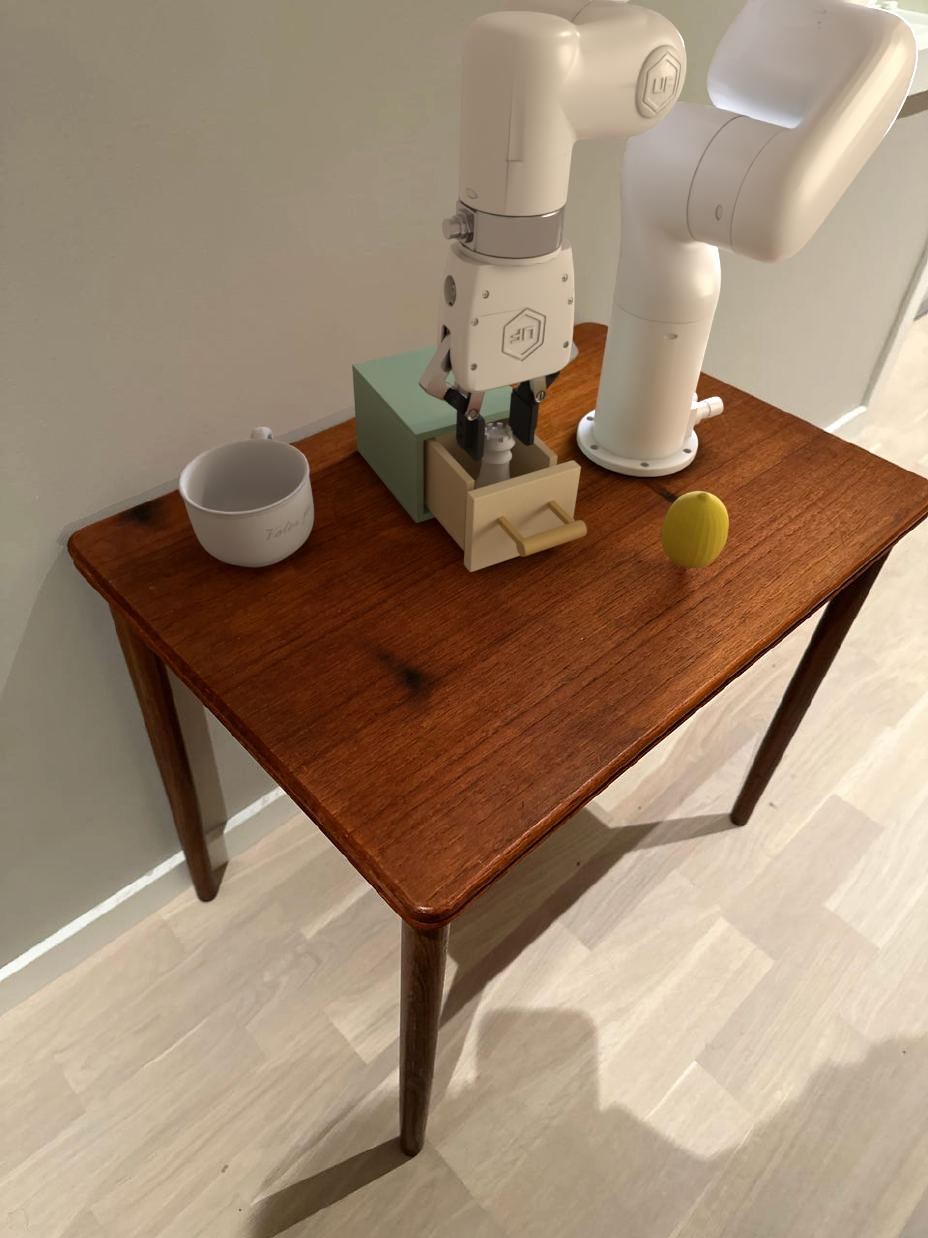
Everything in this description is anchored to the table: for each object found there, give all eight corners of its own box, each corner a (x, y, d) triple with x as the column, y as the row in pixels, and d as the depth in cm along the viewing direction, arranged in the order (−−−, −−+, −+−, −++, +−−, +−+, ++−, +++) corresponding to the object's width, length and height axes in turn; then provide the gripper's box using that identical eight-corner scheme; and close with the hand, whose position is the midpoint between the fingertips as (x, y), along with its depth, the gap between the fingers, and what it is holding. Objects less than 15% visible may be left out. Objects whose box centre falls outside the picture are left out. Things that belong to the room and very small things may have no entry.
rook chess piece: (479, 486, 81) (483, 411, 76) (524, 499, 80) (531, 423, 74) (460, 513, 78) (462, 436, 73) (506, 526, 77) (512, 450, 71)
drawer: (600, 569, 76) (614, 496, 70) (497, 606, 72) (503, 532, 66) (500, 467, 86) (505, 397, 81) (406, 495, 82) (405, 423, 77)
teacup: (293, 594, 73) (283, 518, 68) (173, 573, 75) (153, 498, 69) (342, 498, 83) (337, 425, 78) (236, 482, 85) (222, 409, 79)
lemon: (642, 554, 79) (658, 482, 73) (693, 540, 80) (713, 468, 75) (675, 593, 75) (696, 519, 69) (728, 577, 77) (752, 504, 71)
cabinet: (522, 490, 85) (530, 404, 78) (416, 523, 81) (415, 434, 74) (456, 423, 93) (458, 339, 87) (357, 450, 89) (351, 364, 82)
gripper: (429, 264, 56) (428, 494, 69) (637, 225, 62) (601, 442, 75) (380, 224, 61) (388, 447, 74) (579, 191, 67) (554, 402, 80)
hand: (496, 442), depth 74 cm, fingers open, 4 cm apart
